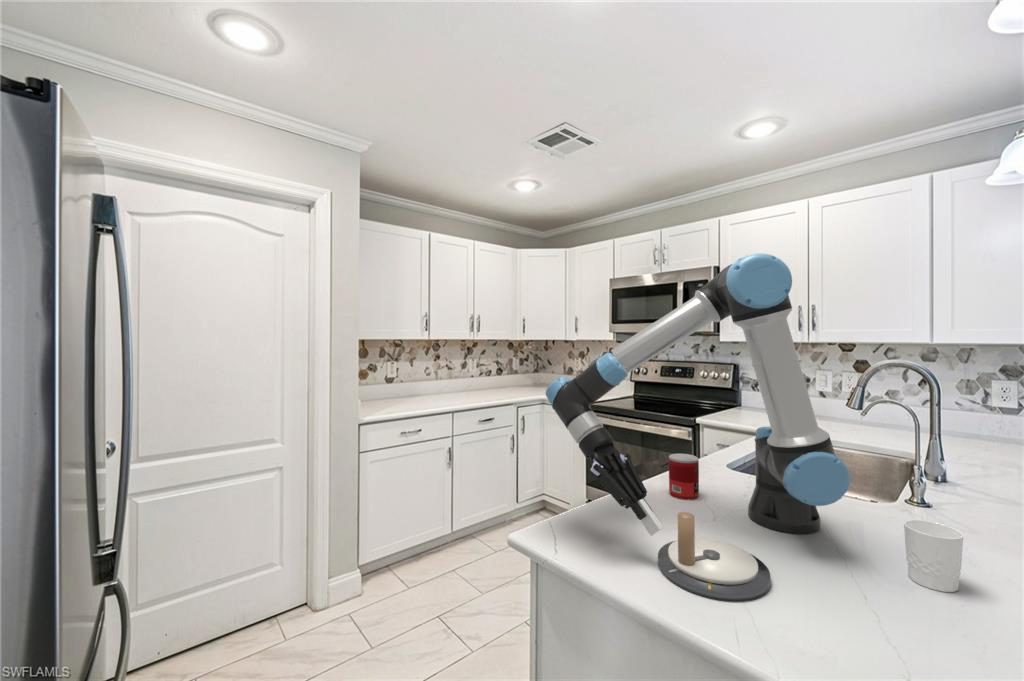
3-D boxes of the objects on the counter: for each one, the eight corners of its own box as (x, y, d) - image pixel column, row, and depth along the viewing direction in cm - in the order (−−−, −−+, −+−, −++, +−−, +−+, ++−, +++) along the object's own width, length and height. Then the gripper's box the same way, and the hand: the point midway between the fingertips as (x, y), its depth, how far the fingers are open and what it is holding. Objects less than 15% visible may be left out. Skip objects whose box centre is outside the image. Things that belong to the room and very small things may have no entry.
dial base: (746, 548, 94) (746, 540, 94) (791, 605, 74) (790, 596, 74) (650, 543, 97) (650, 535, 97) (668, 596, 77) (668, 587, 77)
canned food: (701, 500, 121) (701, 461, 121) (671, 499, 123) (671, 460, 123) (695, 491, 129) (695, 453, 128) (667, 489, 130) (666, 452, 130)
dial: (740, 544, 92) (739, 497, 92) (773, 587, 77) (772, 531, 76) (661, 539, 95) (661, 494, 95) (677, 581, 79) (677, 526, 79)
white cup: (892, 571, 84) (892, 520, 84) (930, 569, 85) (930, 518, 85) (935, 596, 76) (935, 539, 76) (976, 593, 77) (976, 537, 77)
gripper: (599, 440, 107) (662, 530, 95) (563, 450, 98) (627, 550, 86) (617, 422, 103) (685, 513, 91) (581, 430, 94) (651, 533, 82)
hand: (657, 531), depth 88 cm, fingers closed
